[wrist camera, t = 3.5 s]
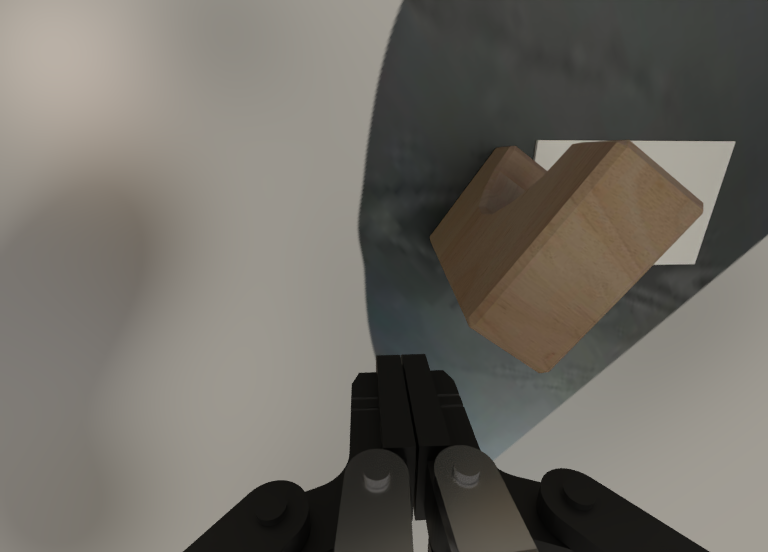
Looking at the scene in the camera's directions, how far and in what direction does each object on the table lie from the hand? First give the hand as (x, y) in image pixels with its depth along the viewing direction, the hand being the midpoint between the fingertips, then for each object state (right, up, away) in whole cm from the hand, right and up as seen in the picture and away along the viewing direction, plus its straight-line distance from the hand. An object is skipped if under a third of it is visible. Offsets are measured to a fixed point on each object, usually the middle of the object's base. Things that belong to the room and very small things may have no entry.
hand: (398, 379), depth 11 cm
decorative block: (+9, +10, +25) cm, 29 cm away
